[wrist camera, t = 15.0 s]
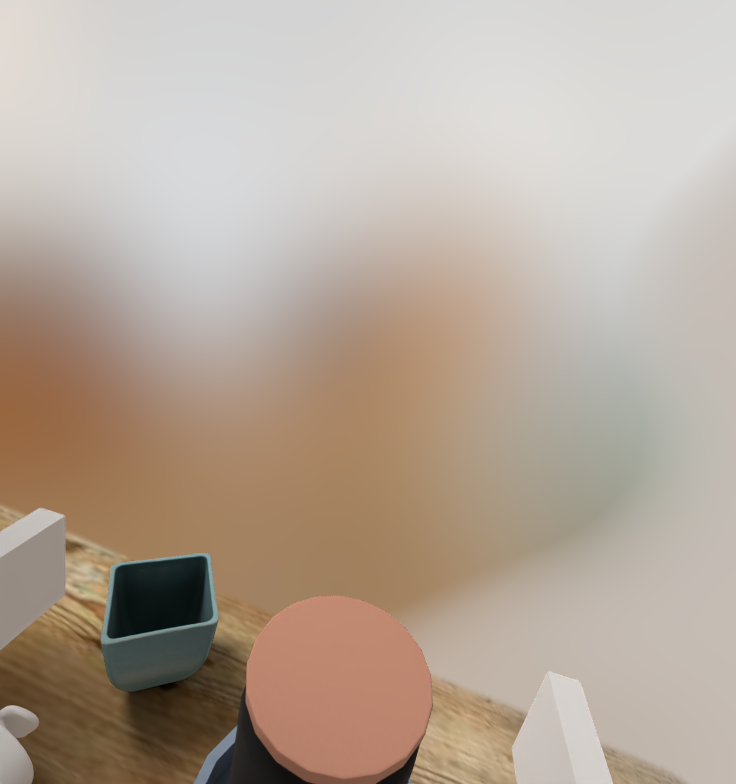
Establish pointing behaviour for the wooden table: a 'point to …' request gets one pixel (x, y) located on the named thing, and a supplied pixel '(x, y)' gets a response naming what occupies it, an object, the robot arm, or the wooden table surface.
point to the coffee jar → (332, 698)
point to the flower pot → (158, 620)
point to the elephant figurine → (15, 745)
